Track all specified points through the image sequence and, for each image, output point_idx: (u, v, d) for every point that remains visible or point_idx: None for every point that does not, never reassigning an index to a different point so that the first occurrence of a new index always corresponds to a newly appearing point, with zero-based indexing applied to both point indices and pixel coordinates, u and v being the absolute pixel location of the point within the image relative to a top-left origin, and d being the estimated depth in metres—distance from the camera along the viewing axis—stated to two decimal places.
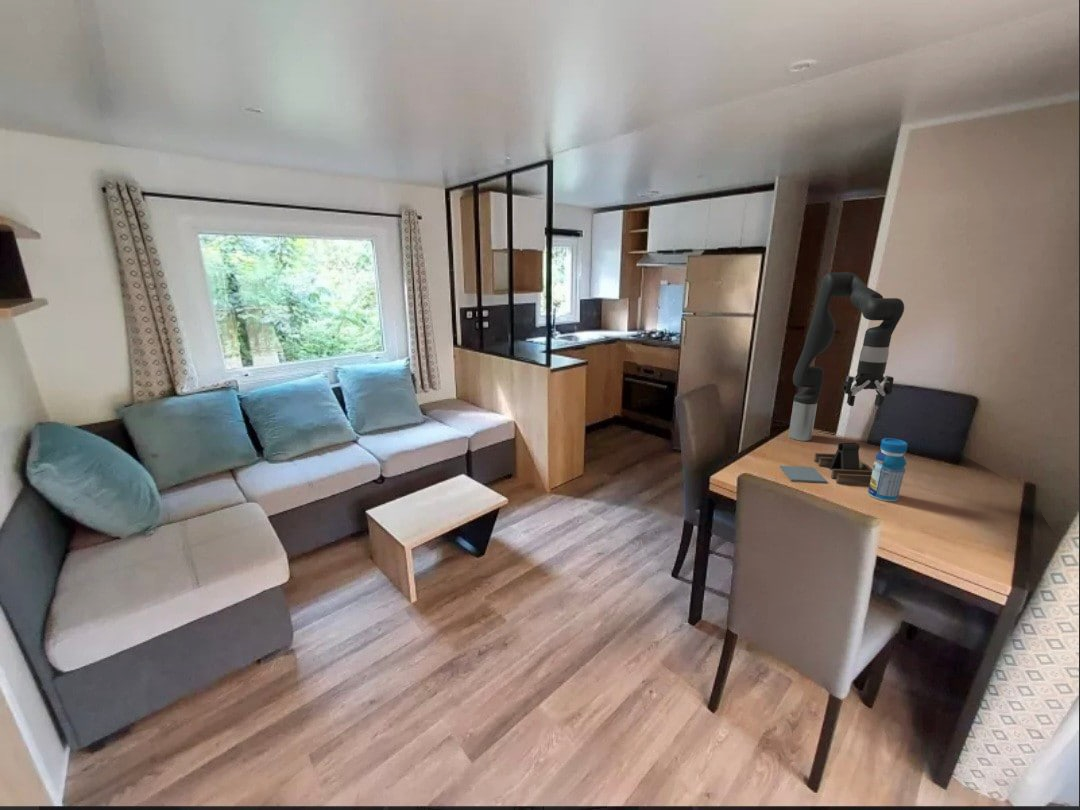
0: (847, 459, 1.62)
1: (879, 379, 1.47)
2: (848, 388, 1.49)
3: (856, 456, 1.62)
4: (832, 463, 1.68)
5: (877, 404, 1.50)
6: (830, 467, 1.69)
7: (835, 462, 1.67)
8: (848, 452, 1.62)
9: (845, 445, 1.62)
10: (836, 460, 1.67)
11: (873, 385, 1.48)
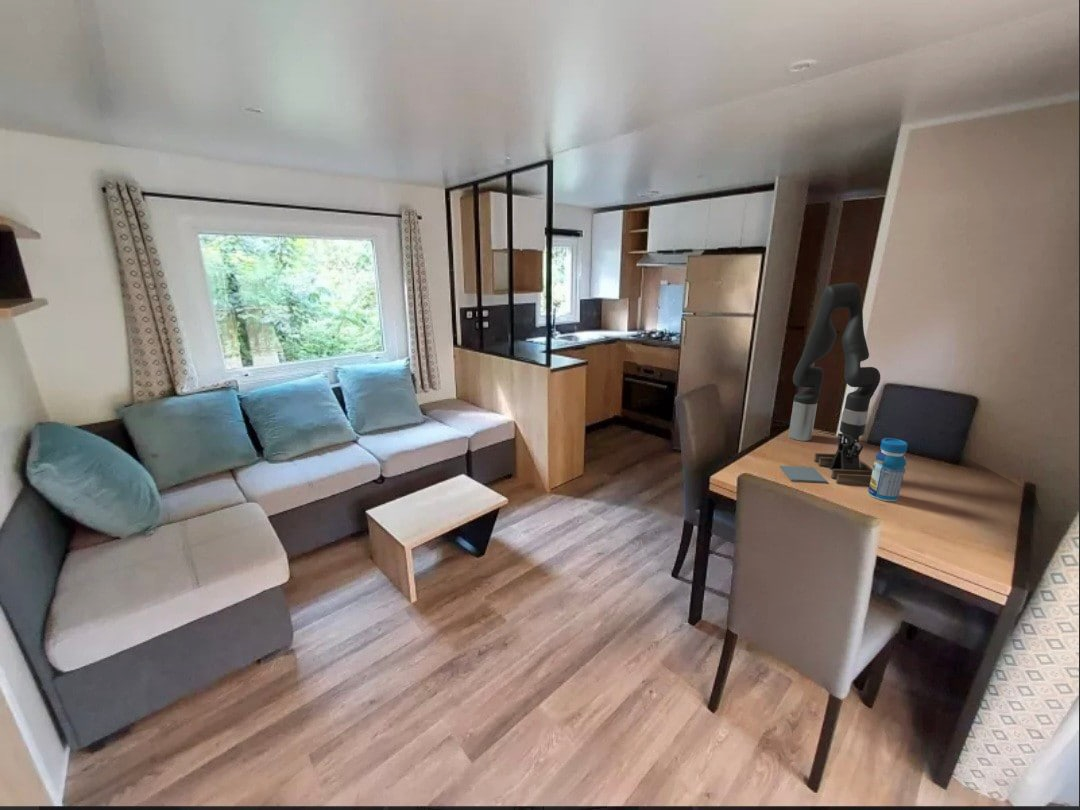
0: (847, 459, 1.62)
1: None
2: None
3: None
4: (832, 463, 1.68)
5: None
6: (830, 467, 1.69)
7: (835, 462, 1.67)
8: None
9: (845, 445, 1.62)
10: (836, 460, 1.67)
11: None
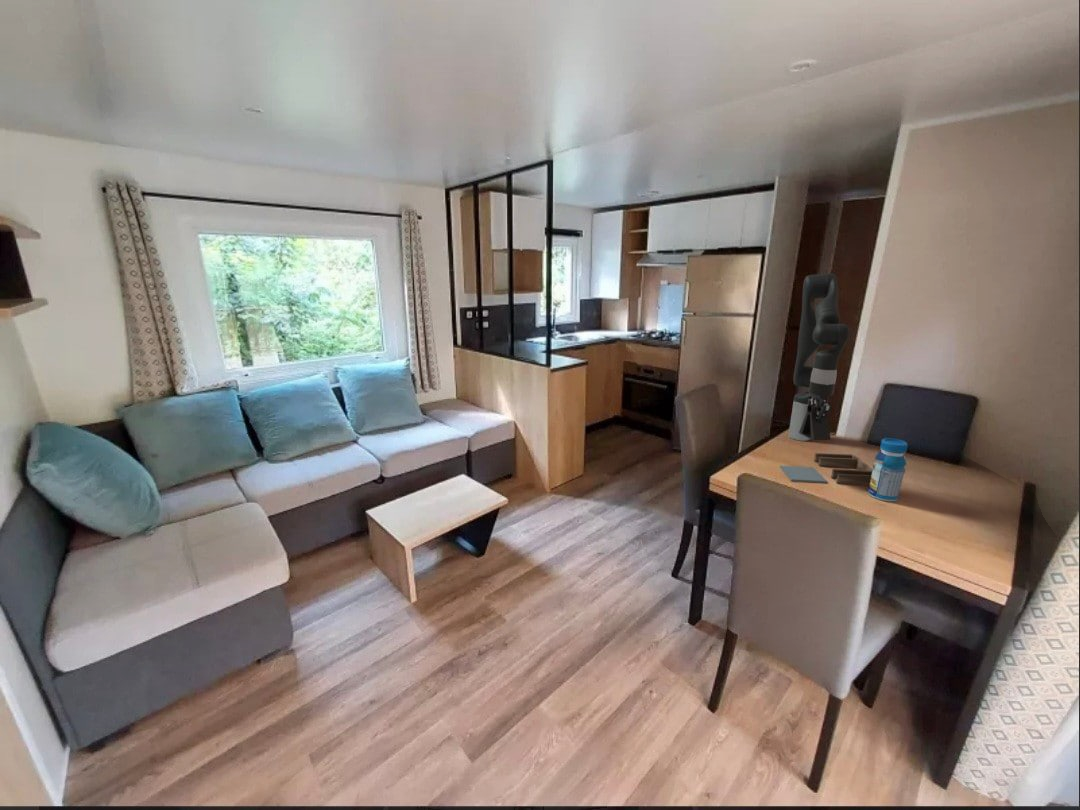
0: (816, 420, 1.56)
1: None
2: None
3: None
4: (802, 427, 1.62)
5: None
6: (801, 432, 1.63)
7: (805, 426, 1.61)
8: None
9: (814, 406, 1.56)
10: (806, 423, 1.61)
11: None
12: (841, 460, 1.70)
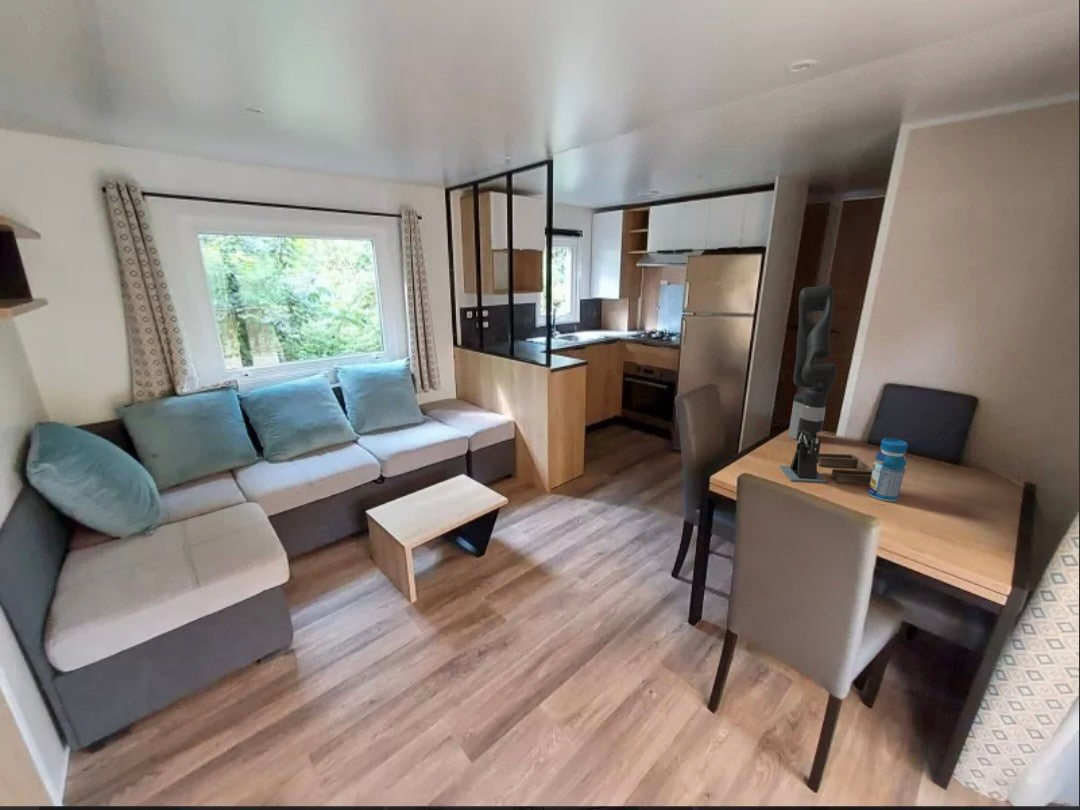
0: (804, 459, 1.61)
1: None
2: None
3: (814, 457, 1.60)
4: (792, 463, 1.67)
5: None
6: (791, 467, 1.68)
7: (795, 462, 1.66)
8: (805, 452, 1.61)
9: (802, 445, 1.61)
10: (796, 460, 1.65)
11: None
12: (841, 460, 1.70)
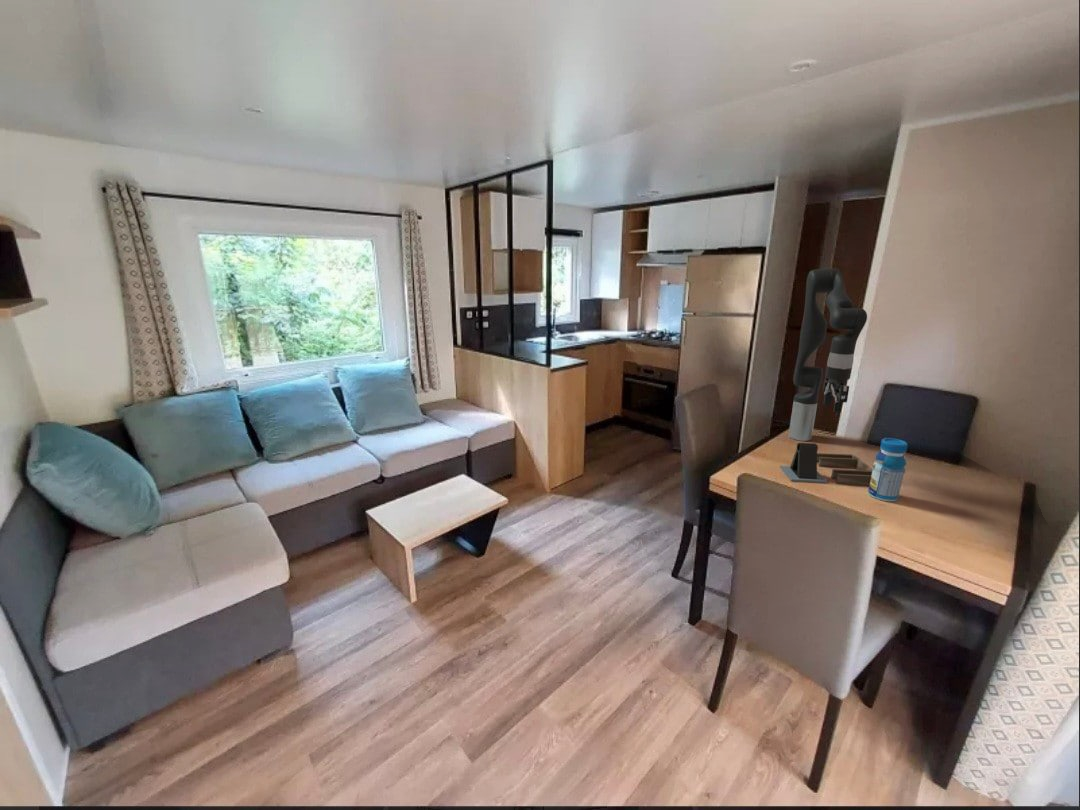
0: (804, 459, 1.61)
1: None
2: None
3: (814, 457, 1.60)
4: (792, 463, 1.67)
5: (828, 403, 1.64)
6: (791, 467, 1.68)
7: (795, 462, 1.66)
8: (805, 452, 1.61)
9: (802, 445, 1.61)
10: (796, 460, 1.65)
11: None
12: (841, 460, 1.70)
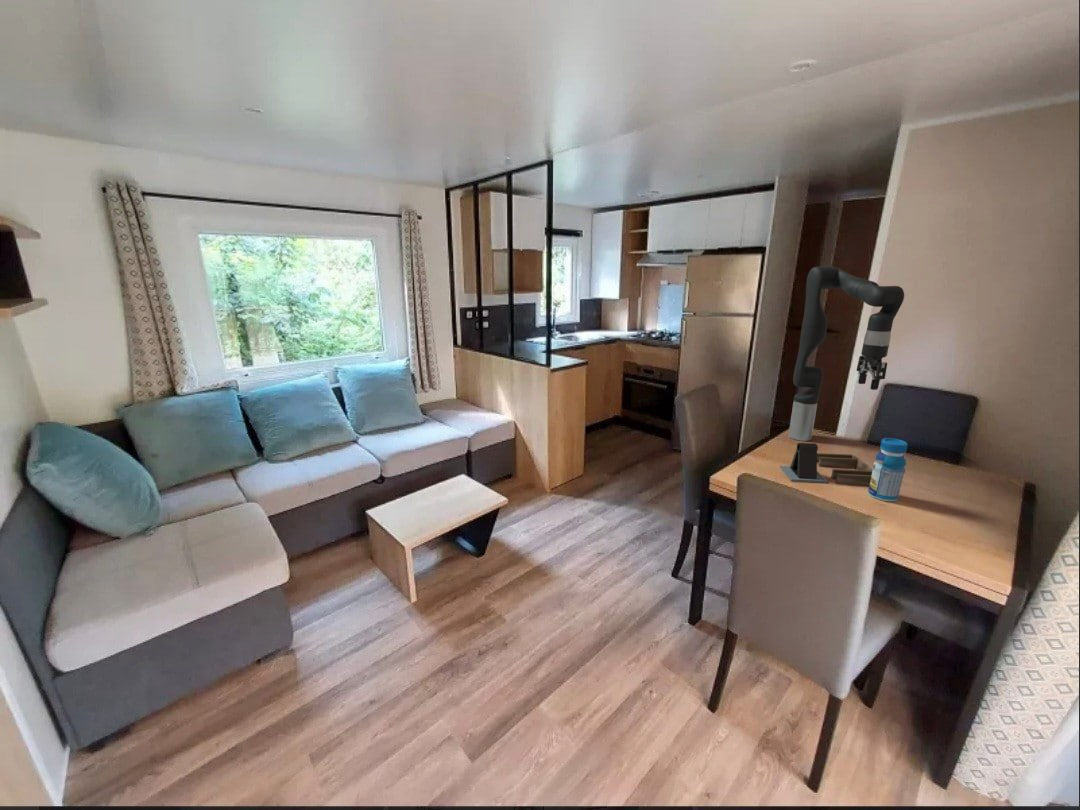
0: (804, 459, 1.61)
1: None
2: None
3: (814, 457, 1.60)
4: (792, 463, 1.67)
5: (863, 382, 1.66)
6: (791, 467, 1.68)
7: (795, 462, 1.66)
8: (805, 452, 1.61)
9: (802, 445, 1.61)
10: (796, 460, 1.65)
11: None
12: (841, 460, 1.70)
